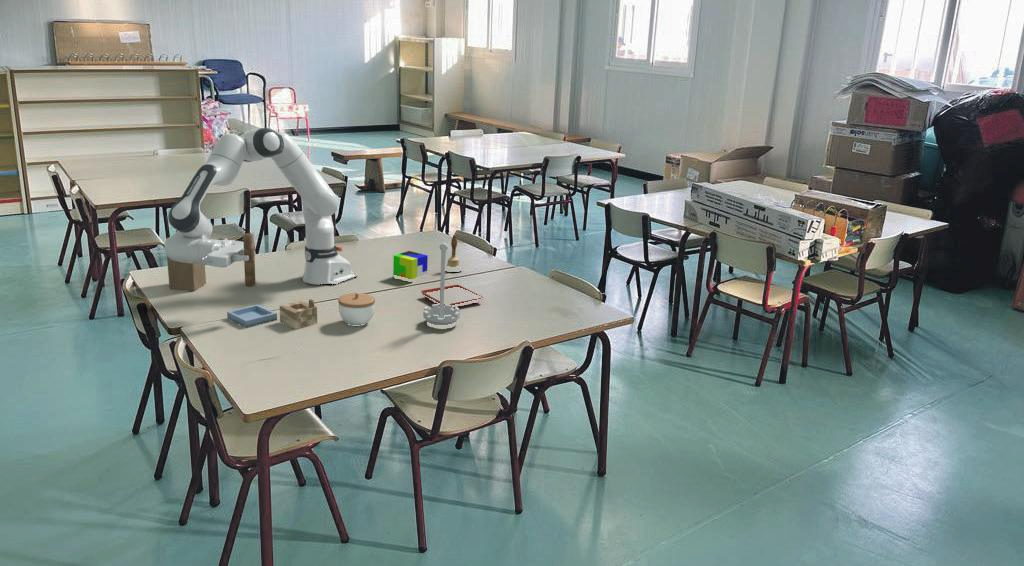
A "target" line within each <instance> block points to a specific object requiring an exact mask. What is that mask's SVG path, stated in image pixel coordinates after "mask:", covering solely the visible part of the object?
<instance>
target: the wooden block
mask: <svg viewBox="0 0 1024 566" xmlns="http://www.w3.org/2000/svg"><path fill="white" fill-rule="evenodd" d="M170 237H171V236H169V237H168V238H170ZM166 261H167V274H168V286H169V287H168V288H169V290H177V291H184V290H189V291H188V292H195V290H196V291H197V290H199V289H200V288H202V287H203V286H205V285H206V284H207V279H206V278H207V277H206V276H207V275H206V265H202V264H199V263H192V264H190V263H182V262H177V261H173V260H171V259H170V258H169V257H168V256H167V255H166ZM204 284H205V285H204ZM201 286H202V287H201ZM198 288H199V289H198Z"/></svg>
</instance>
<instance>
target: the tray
mask: <svg viewBox="0 0 1024 566" xmlns="http://www.w3.org/2000/svg"><path fill="white" fill-rule="evenodd" d="M226 317H227V318H228V320H229V319H230V321H231V320H232V322H233V321H234V323H235V324H238V325H239V324H240V326H241V325H242V326H241V327H243V326H244V328H245V327H246V329H248V328H251V327H256V326H259V324H260V325H264V324H266V323H271V322H275V321H278V313H277V312H275V311H273V310H270V309H268V308H267V307H264V306H262V305H260V304H255V305H254V304H253V305H249V306H245V307H242V308H238V309H233V310H229V311H227V312H226ZM227 318H226V319H227ZM274 320H275V321H274ZM270 321H271V322H270ZM263 323H264V324H263Z"/></svg>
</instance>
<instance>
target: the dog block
mask: <svg viewBox="0 0 1024 566" xmlns="http://www.w3.org/2000/svg"><path fill="white" fill-rule="evenodd" d="M279 323H281V324H283V323H284V324H283V325H285V324H286V325H285V326H287V325H288V326H287V327H289V326H290V328H291V327H292V329H294V330H298V329H301V327H302V328H305V327H304V326H306V327H309V326H312V325H311V324H313V325H315V324H314V323H316V324H318V307H317V306H316V305H315V299H313V298H312V299H311V298H310V299H308V302H306V301H303V300H299V301H294V302H290V303H286V304H282V305H279ZM308 325H309V326H308ZM297 328H298V329H297Z"/></svg>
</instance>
